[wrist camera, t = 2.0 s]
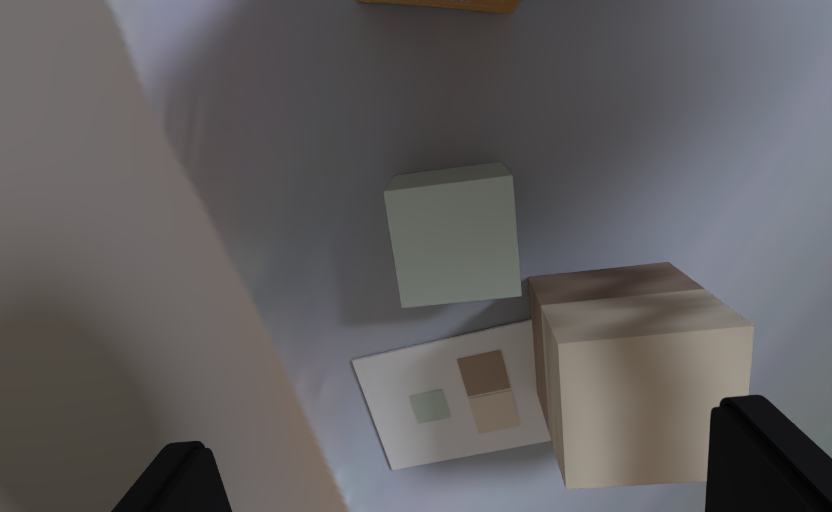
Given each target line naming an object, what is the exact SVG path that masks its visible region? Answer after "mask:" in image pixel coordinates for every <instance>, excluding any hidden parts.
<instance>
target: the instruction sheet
mask: <svg viewBox="0 0 832 512" xmlns="http://www.w3.org/2000/svg"><path fill="white" fill-rule="evenodd" d="M352 363H353V366H354V369H355V371H356V374H357V377H358V379H359V382H360V385H361V387H362V390H363V393H364V395H365V398H366V401H367V403H368V406H369V409H370V411H371V414H372V417H373V420H374V422H375V425H376V428H377V430H378V433H379V436H380V438H381V441H382V444H383V446H384V449H385V452H386V454H387V457H388V460H389V463H390V465H391V468H392V470H397V469H402V468H408V467H413V466H419V465H424V464H429V463H435V462H440V461H445V460H451V459H456V458H462V457H467V456H472V455H478V454H483V453H488V452H494V451H499V450H505V449H510V448H515V447H521V446H526V445H532V444H537V443H542V442H548V441H551V438H550V435H549V431H548V428H547V425H546V422H545V418H544V415H543V412H542V408H541V405H540V402H539V398H538V395H537V385H536V372H535V358H534V344H533V331H532V320H531V319H529V320H525V321H520V322H516V323H511V324H507V325H502V326H498V327H493V328H489V329H485V330H480V331H476V332H471V333H467V334H462V335H458V336H454V337H449V338H445V339H440V340H436V341H431V342H427V343H423V344H418V345H414V346H409V347H405V348H400V349H396V350H391V351H387V352H383V353H378V354H374V355H369V356H365V357H360V358H356V359H352Z"/></svg>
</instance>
